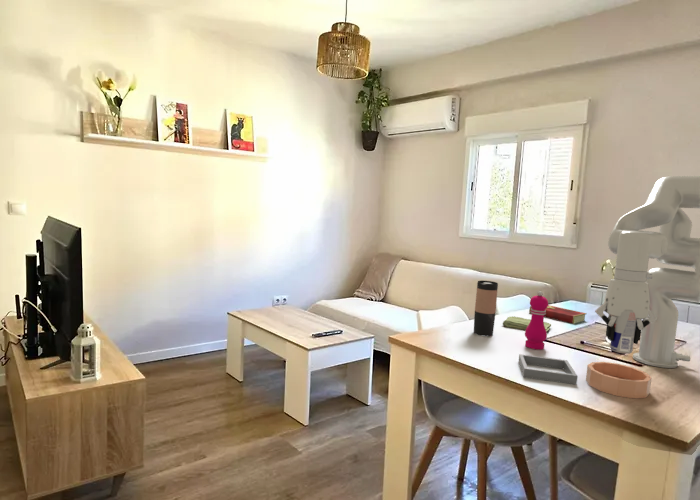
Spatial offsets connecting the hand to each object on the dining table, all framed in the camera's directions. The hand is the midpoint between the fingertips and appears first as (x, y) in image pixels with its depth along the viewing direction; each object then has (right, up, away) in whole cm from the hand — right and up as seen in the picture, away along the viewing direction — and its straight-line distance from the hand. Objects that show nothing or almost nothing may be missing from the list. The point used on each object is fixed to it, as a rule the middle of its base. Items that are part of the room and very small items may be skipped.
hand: (622, 340), depth 128 cm
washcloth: (-2, -8, +64) cm, 64 cm away
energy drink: (0, -3, 0) cm, 3 cm away
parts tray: (-17, -11, +10) cm, 23 cm away
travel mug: (-24, -7, +49) cm, 56 cm away
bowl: (-1, -13, +1) cm, 13 cm away
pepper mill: (-10, -9, +36) cm, 38 cm away
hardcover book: (+21, -7, +87) cm, 89 cm away
